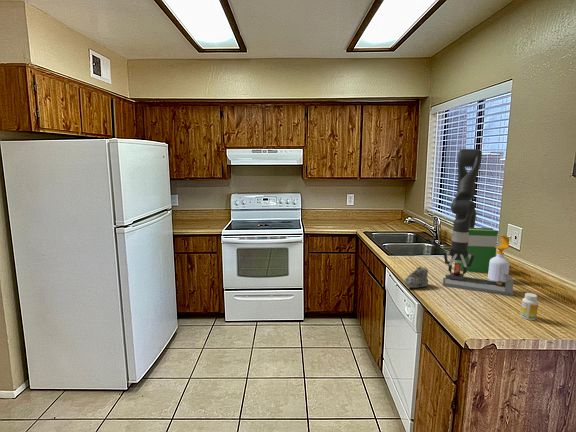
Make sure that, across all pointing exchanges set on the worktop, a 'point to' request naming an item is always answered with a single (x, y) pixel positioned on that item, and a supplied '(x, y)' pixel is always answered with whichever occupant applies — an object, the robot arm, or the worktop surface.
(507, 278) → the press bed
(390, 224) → the worktop surface
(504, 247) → the soap bottle
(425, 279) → the mineral rock
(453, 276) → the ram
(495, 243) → the hardback book
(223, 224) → the worktop surface
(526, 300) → the supplement bottle
